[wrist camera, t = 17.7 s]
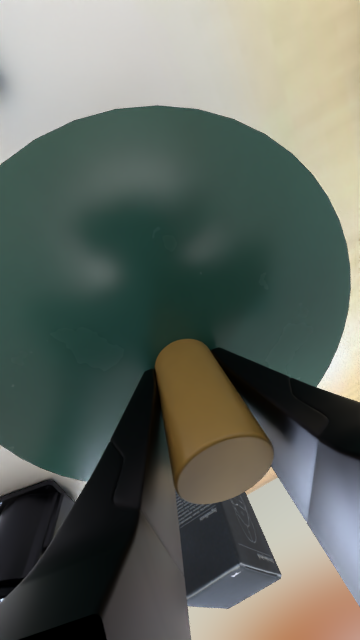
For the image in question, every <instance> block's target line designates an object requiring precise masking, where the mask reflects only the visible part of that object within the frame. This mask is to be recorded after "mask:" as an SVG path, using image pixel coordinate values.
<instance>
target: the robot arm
mask: <svg viewBox="0 0 360 640" xmlns="http://www.w3.org/2000/svg"><path fill="white" fill-rule="evenodd" d="M211 353H212V354H213V356H214V357H215V359H216V360H217V362H218V363H219V365H220V366H221V368H222V369H223V371H224V372H225V374H226V375H227V377H228V378H229V380H230V381H231V383H232V384H233V386H234V387H235V389H236V390H237V392H238V393H239V395H240V396H241V398H242V399H243V401H244V402H245V404H246V405H247V407H248V408H249V410H250V411H251V413H252V414H253V416H254V417H255V419H256V420H257V422H258V423H259V425H260V426H261V428H262V429H263V431H264V432H265V434H266V435H267V437H268V438H269V440H270V441H271V443H272V445H273V448H274V459H273V462H272V465H271V467H272V468H273V470H274V471H275V473H276V475H277V476H278V478H279V479H280V481H281V482H282V484H283V486H284V487H285V489H286V490H287V492H288V494H289V495H290V497H291V498H292V500H293V501H294V503H295V505H296V506H297V508H298V509H299V511H300V513H301V514H302V516H303V517H304V519H305V520H306V521H307V524H308V526H309V527H310V529H311V530H312V532H313V533H314V535H315V537H316V538H317V540H318V541H319V543H320V545H321V546H322V548H323V549H324V551H325V552H326V554H327V556H328V557H329V559H330V560H331V562H332V563H333V565H334V567H335V568H336V570H337V572H338V573H339V575H340V576H341V578H342V579H343V581H344V583H345V584H346V586H347V587H348V589H349V591H350V592H351V593H352V595H353V597H354V598H355V600H356V602H357V603H358V605H359V606H360V402H357V401H354V400H351V399H348V398H345V397H342V396H339V395H336V394H333V393H331V392H328V391H325V390H322V389H319V388H317V387H314V386H312V385H309V384H307V383H304V382H302V381H299V380H297V379H294V378H292V377H291V378H290V377H289V376H287V375H285V374H282V373H280V372H278V371H275V370H273V369H270V368H268V367H266V366H263V365H261V364H259V363H256V362H254V361H251V360H249V359H247V358H244V357H242V356H239V355H237V354H235V353H232V352H230V351H228V350H225V349H223V348H220V347H218V348H215V349H212V350H211ZM0 640H191V635H190V626H189V616H188V607H187V597H186V587H185V578H184V569H183V559H182V550H181V540H180V531H179V521H178V512H177V502H176V493H175V487H174V483H173V477H172V471H171V465H170V459H169V453H168V447H167V441H166V435H165V429H164V423H163V417H162V411H161V405H160V399H159V392H158V386H157V380H156V374H155V370H154V369H150V370H147V371H145V372H144V373H143V375H142V377H141V379H140V381H139V383H138V385H137V387H136V389H135V391H134V393H133V395H132V397H131V399H130V401H129V403H128V405H127V407H126V409H125V411H124V413H123V415H122V417H121V419H120V421H119V423H118V425H117V427H116V429H115V431H114V433H113V435H112V437H111V439H110V442H109V443H108V445H107V447H106V449H105V451H104V453H103V455H102V457H101V459H100V460H99V462H98V464H97V466H96V468H95V470H94V472H93V473H92V475H91V477H90V478H89V480H88V482H87V484H86V485H85V487H84V489H83V490H82V492H81V494H80V495H79V497H78V499H77V500H76V502H75V503H74V502H73V501H72V500H71V499H70V497H69V496H68V495H67V494H66V493H65V492H64V491H63V490H62V489H61V488H60V487H59V486H58V485H57V484H56V483H55V482H54V481H52V480H48V481H45V482H42V483H39V484H37V485H34V486H31V487H28V488H26V489H23V490H20V491H17V492H15V493H12V494H9V495H6V496H3V497H1V498H0Z"/></svg>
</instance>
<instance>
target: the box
mask: <svg viewBox="0 0 360 640" xmlns="http://www.w3.org/2000/svg"><path fill="white" fill-rule="evenodd" d="M175 493H176V502H177V512H178V521H179V531H180V540H181V550H182V559H183V569H184V578H185V587H186V597H187V606H193V607H208V608H209V607H210V608H226V609H228V608H230V607H232V606H234V605H236V604H238V603H239V602H241V601H243V600H245V599H246V598H248V597H250V596H252V595H253V594H255V593H257V592H259V591H260V590H262V589H264V588H265V587H267V586H269V585H271V584H272V583H274V582H276V581H277V580H279V579H280V578H281V573H280V571H279V568H278V566H277V564H276V562H275V559H274V557H273V555H272V552H271V550H270V548H269V546H268V543H267V541H266V539H265V536H264V534H263V532H262V529H261V527H260V525H259V523H258V520H257V518H256V516H255V513H254V511H253V509H252V506H251V504H250V503H249V500H248V497H247V495H246V493H245V492H243V493H241V494H240V495H238V496H235V497H233V498H231V499H228V500H225V501H222V502H217V503H212V504H194V503H190V502H187V501H185V500H183V499H182V498H181V497H180V496H179V495H178V493H177V492H176V490H175Z"/></svg>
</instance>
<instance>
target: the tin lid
mask: <svg viewBox="0 0 360 640" xmlns="http://www.w3.org/2000/svg"><path fill="white" fill-rule="evenodd" d="M350 290H351V284H350V262H349V256H348V249H347V243H346V240H345V237H344V234H343V230H342V227H341V224H340V221H339V218H338V216H337V214H336V212H335V210H334V208H333V206H332V204H331V202H330V200H329V198H328V196H327V195H326V193H325V192H324V190H323V189H322V187H321V186H320V185H319V183H318V182H317V180H316V179H315V177H314V176H313V175H312V174H311V172H310V171H309V170H308V169H307V168H306V167H305V166H304V165H303V164H302V163H301V162H300V161H299V160H298V159H297V158H296V157H295V156H294V155H293V154H292V153H291V152H289V151H288V150H286V149H285V148H284V147H282V146H281V145H280V144H278V143H277V142H275V141H274V140H273V139H271V138H270V137H268V136H267V135H266V134H264V133H262V132H260V131H257V130H255V129H253V128H251V127H249V126H247V125H245V124H243V123H241V122H239V121H237V120H235V119H231V118H228V117H224V116H221V115H217V114H213V113H210V112H206V111H203V110H199V109H191V108H180V107H169V106H158V105H157V106H146V107H134V108H123V109H114V110H111V111H107V112H103V113H100V114H96V115H92V116H89V117H85V118H81V119H78V120H74V121H72V122H70V123H68V124H66V125H64V126H62V127H60V128H58V129H55V130H53V131H51V132H49V133H47V134H45V135H43V136H41V137H39V138H37V139H35V140H33V141H32V142H31V143H29V144H28V145H27V146H25V147H24V148H23V149H21V150H20V151H18V152H17V153H16V154H14V155H13V156H12V157H10V158H9V159H8V160H6V161H5V162H3V163H2V164H1V165H0V445H1V446H3V447H4V448H6V449H7V450H9V451H11V452H12V453H14V454H15V455H17V456H18V457H20V458H21V459H23V460H25V461H27V462H30V463H32V464H34V465H36V466H38V467H40V468H42V469H45V470H47V471H50V472H53V473H56V474H58V475H61V476H65V477H69V478H73V479H77V480H81V481H87V482H88V480H89V478H90V477H91V475H92V473H93V472H94V470H95V468H96V466H97V464H98V462H99V460H100V459H101V457H102V455H103V453H104V451H105V449H106V447H107V445H108V443H109V442H110V439H111V437H112V435H113V433H114V431H115V429H116V427H117V425H118V423H119V421H120V419H121V417H122V415H123V413H124V411H125V409H126V407H127V405H128V403H129V401H130V399H131V397H132V395H133V393H134V391H135V389H136V387H137V385H138V383H139V381H140V379H141V377H142V375H143V373H144V372H145V371H147V370H150V369H154V370H155V374H156V380H157V386H158V392H159V399H160V405H161V411H162V417H163V423H164V429H165V435H166V441H167V447H168V453H169V459H170V465H171V471H172V477H173V483H174V487H175V490H176V492H177V493H178V495H179V496H180V497H181V498H182V499H183V500H185V501H187V502H190V503H194V504H212V503H217V502H222V501H225V500H228V499H231V498H233V497H235V496H238V495H240V494H241V493H243V492H245V491H247V490H248V489H250V488H251V487H252V486H254V485H255V484H256V483H257V482H259V481H260V480H261V479H262V478H263V476H264V475H265V474H266V473H267V472H268V470H269V469H270V467H271V465H272V462H273V459H274V448H273V445H272V443H271V441H270V440H269V438H268V437H267V435H266V434H265V432H264V431H263V429H262V428H261V426H260V425H259V423H258V422H257V420H256V419H255V417H254V416H253V414H252V413H251V411H250V410H249V408H248V407H247V405H246V404H245V402H244V401H243V399H242V398H241V396H240V395H239V393H238V392H237V390H236V389H235V387H234V386H233V384H232V383H231V381H230V380H229V378H228V377H227V375H226V374H225V372H224V371H223V369H222V368H221V366H220V365H219V363H218V362H217V360H216V359H215V357H214V356H213V354H212V353H211V350H212V349H215V348H218V347H220V348H223V349H225V350H228V351H230V352H232V353H235V354H237V355H239V356H242V357H244V358H247V359H249V360H251V361H254V362H256V363H259V364H261V365H263V366H266V367H268V368H270V369H273V370H275V371H278V372H280V373H282V374H285V375H287V376H289V377H290V378H291V377H292V378H294V379H297V380H299V381H302V382H304V383H307V384H309V385H312V386H314V387H317V385H318V384H319V382H320V381H321V379H322V378H323V376H324V374H325V372H326V371H327V369H328V367H329V365H330V363H331V361H332V359H333V357H334V355H335V352H336V350H337V348H338V345H339V342H340V339H341V337H342V334H343V331H344V327H345V322H346V318H347V314H348V308H349V299H350Z"/></svg>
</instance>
